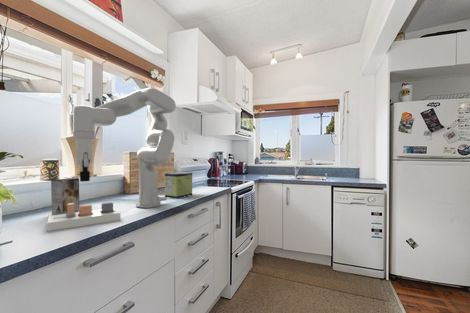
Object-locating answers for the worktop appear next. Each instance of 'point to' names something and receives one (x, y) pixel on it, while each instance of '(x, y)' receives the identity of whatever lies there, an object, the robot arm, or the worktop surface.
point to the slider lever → (70, 210)
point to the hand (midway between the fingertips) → (84, 181)
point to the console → (81, 219)
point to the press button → (85, 210)
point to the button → (107, 207)
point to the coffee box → (64, 195)
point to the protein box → (178, 184)
